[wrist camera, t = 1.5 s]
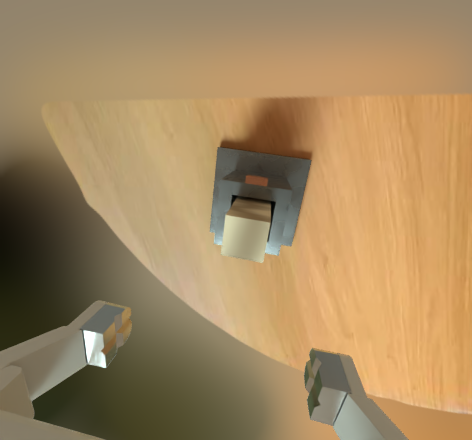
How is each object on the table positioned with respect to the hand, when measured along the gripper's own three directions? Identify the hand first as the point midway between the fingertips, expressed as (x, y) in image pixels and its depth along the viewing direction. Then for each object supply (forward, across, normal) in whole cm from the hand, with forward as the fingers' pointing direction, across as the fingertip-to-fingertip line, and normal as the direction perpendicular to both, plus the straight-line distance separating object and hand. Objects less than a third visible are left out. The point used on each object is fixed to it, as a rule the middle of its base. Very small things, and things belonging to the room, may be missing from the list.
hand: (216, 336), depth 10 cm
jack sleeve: (+28, 0, 0) cm, 28 cm away
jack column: (+27, 0, 0) cm, 27 cm away
